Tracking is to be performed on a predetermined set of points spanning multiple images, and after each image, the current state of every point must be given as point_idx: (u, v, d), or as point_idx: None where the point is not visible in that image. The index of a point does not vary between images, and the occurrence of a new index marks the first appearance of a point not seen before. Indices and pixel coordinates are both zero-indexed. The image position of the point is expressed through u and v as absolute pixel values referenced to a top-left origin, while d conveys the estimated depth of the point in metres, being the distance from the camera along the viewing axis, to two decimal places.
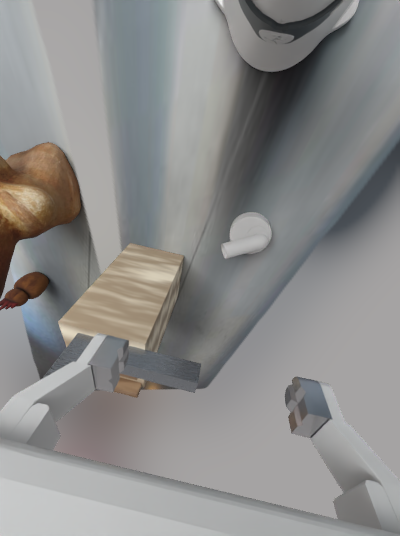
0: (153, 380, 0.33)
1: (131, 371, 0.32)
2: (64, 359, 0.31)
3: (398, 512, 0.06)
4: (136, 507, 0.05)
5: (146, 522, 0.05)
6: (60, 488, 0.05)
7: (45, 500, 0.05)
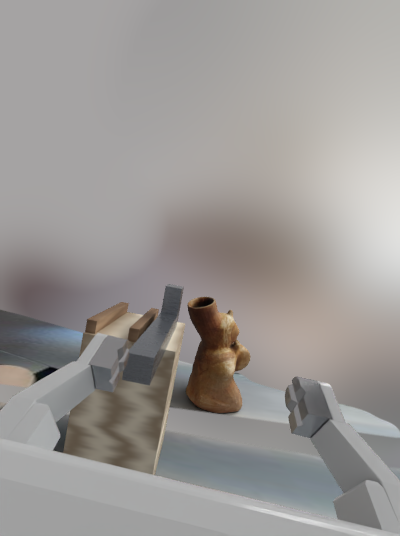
0: (148, 332, 0.29)
1: (160, 326, 0.33)
2: (179, 305, 0.42)
3: (398, 512, 0.06)
4: (136, 507, 0.05)
5: (146, 522, 0.05)
6: (60, 488, 0.05)
7: (45, 500, 0.05)
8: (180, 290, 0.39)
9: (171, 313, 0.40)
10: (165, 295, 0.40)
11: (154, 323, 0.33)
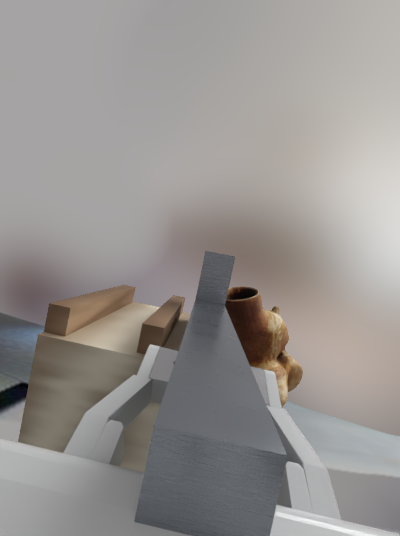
0: (193, 334, 0.11)
1: (211, 321, 0.15)
2: None
3: (313, 492, 0.06)
4: (136, 507, 0.05)
5: None
6: (60, 488, 0.05)
7: (45, 500, 0.05)
8: (232, 259, 0.22)
9: (214, 300, 0.22)
10: (204, 268, 0.22)
11: (195, 315, 0.15)
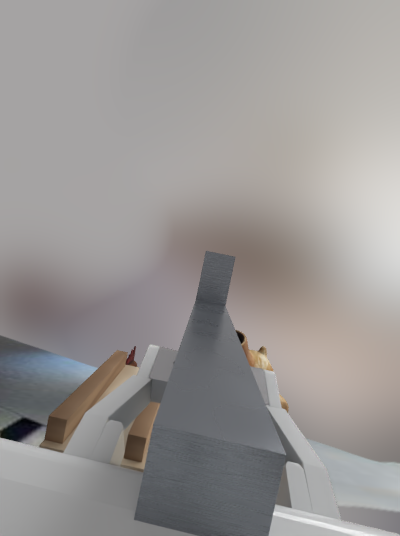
0: (193, 334, 0.11)
1: (211, 321, 0.15)
2: None
3: (313, 492, 0.06)
4: None
5: None
6: (60, 488, 0.05)
7: (45, 500, 0.05)
8: (232, 259, 0.22)
9: (215, 300, 0.22)
10: (204, 268, 0.22)
11: (196, 315, 0.15)
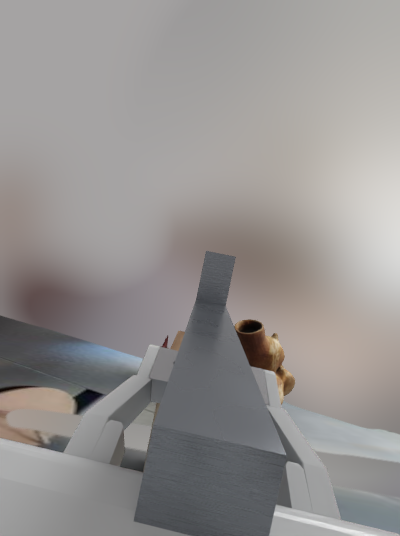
0: (194, 334, 0.11)
1: (211, 321, 0.15)
2: None
3: (313, 492, 0.06)
4: None
5: None
6: (60, 488, 0.05)
7: (45, 500, 0.05)
8: (232, 259, 0.22)
9: (215, 300, 0.22)
10: (205, 268, 0.22)
11: (196, 315, 0.15)
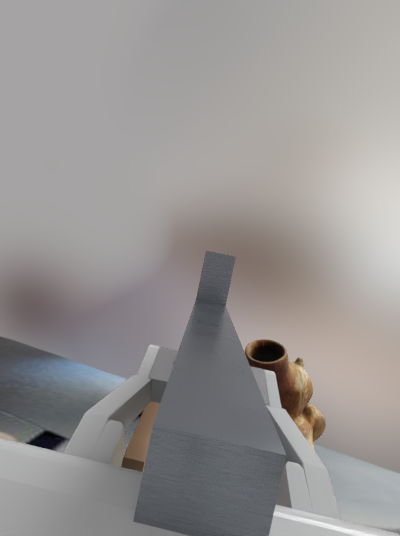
0: (194, 334, 0.11)
1: (211, 321, 0.15)
2: None
3: (313, 492, 0.06)
4: None
5: None
6: (60, 488, 0.05)
7: (45, 500, 0.05)
8: (232, 259, 0.22)
9: (215, 300, 0.22)
10: (204, 268, 0.22)
11: (196, 315, 0.15)
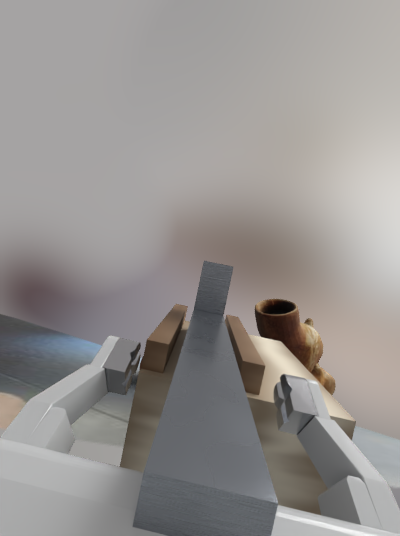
0: (190, 354, 0.11)
1: (208, 335, 0.15)
2: None
3: (378, 507, 0.06)
4: None
5: None
6: (61, 488, 0.05)
7: (45, 500, 0.05)
8: (230, 269, 0.22)
9: (213, 310, 0.22)
10: (202, 278, 0.22)
11: (193, 329, 0.15)
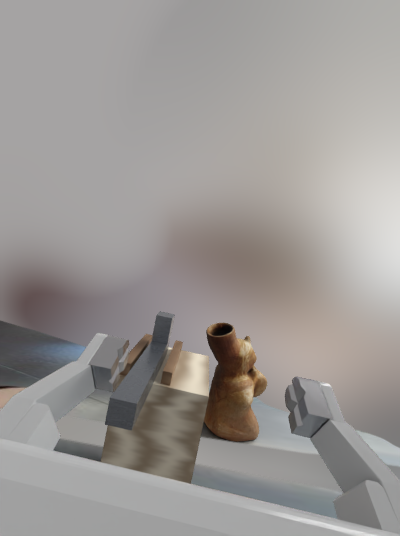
0: (134, 369, 0.30)
1: (148, 359, 0.33)
2: (170, 333, 0.42)
3: (398, 512, 0.06)
4: (136, 507, 0.05)
5: (146, 522, 0.05)
6: (60, 488, 0.05)
7: (45, 500, 0.05)
8: (170, 319, 0.40)
9: (161, 341, 0.40)
10: (156, 324, 0.40)
11: (142, 356, 0.34)
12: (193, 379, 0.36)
